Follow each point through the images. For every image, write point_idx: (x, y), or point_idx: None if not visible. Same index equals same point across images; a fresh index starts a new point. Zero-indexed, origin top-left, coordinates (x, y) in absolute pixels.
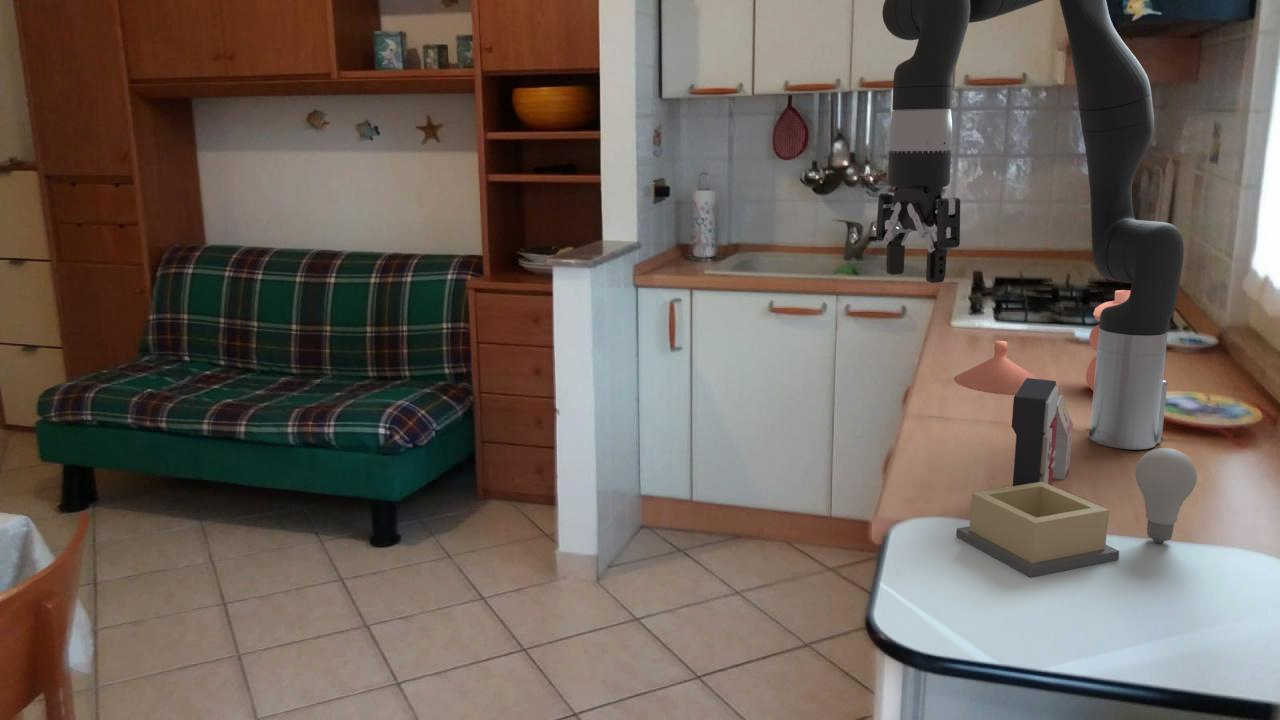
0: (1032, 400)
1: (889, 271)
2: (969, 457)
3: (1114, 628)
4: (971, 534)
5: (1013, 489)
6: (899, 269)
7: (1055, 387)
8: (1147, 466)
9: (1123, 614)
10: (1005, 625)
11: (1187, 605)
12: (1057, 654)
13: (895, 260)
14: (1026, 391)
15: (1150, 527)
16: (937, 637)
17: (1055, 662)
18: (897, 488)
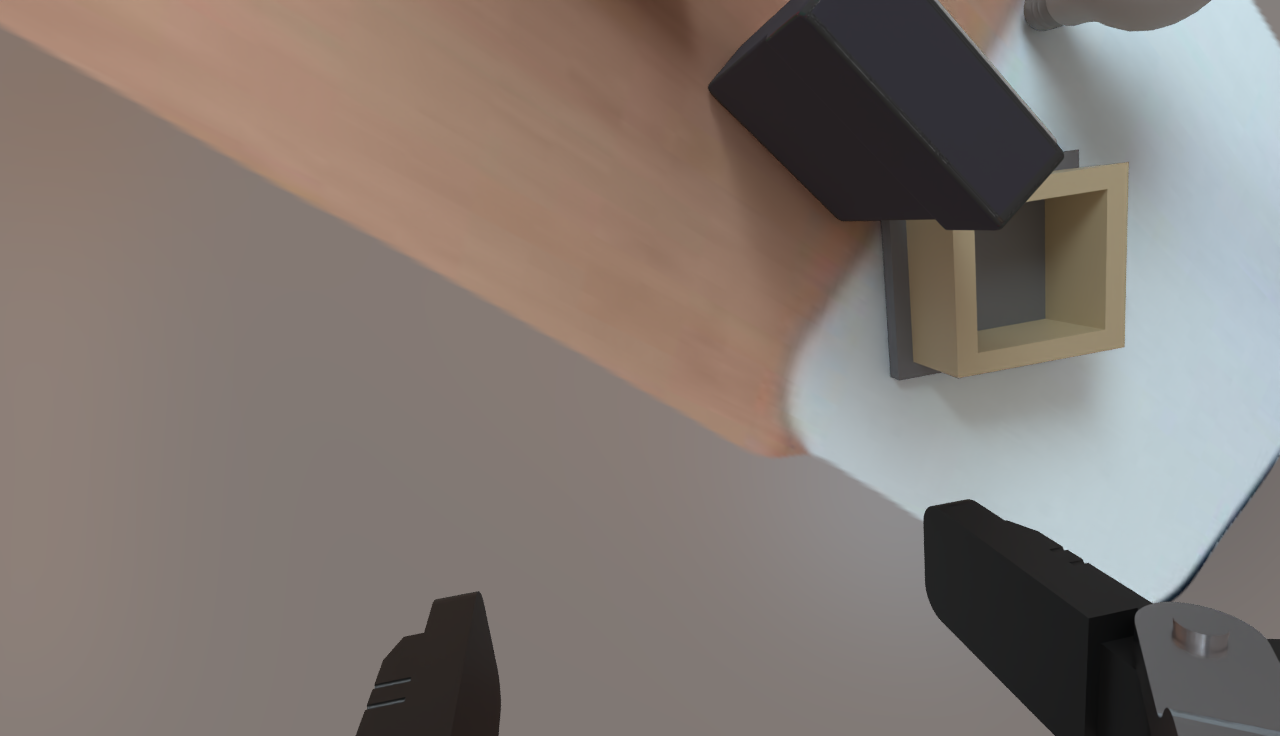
0: (1038, 186)
1: (500, 710)
2: (440, 69)
3: (1226, 325)
4: (931, 368)
5: (970, 282)
6: (481, 637)
7: None
8: (1181, 12)
9: (1204, 284)
10: (1163, 462)
11: (1222, 167)
12: (1242, 439)
13: (482, 729)
14: (970, 150)
15: (1056, 26)
16: (1154, 559)
17: (1254, 452)
18: (624, 366)
